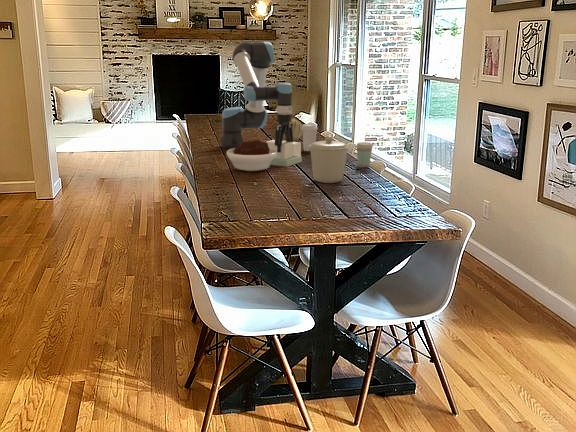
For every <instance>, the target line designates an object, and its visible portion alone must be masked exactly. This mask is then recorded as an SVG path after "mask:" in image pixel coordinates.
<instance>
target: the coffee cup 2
mask: <svg viewBox="0 0 576 432" xmlns="http://www.w3.org/2000/svg"><path fill="white" fill-rule="evenodd" d="M355 148H356V159H357V167H358V168H362V167H367V168H369V167H370V163H371V159H372V153H373V152H372V151H373V148H374V147H373V144H372V143H370V142H357V143H356V146H355Z"/></svg>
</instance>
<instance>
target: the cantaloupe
mask: <svg viewBox="0 0 576 432" xmlns="http://www.w3.org/2000/svg"><path fill="white" fill-rule="evenodd" d="M289 123H290V124H293V127H292V130H293V142H297V141H299V139H300V138H301V137H303V133H302V129H301V128H302V126H303V124H302V123H301V121H299V120H298V119H296V117H293V118H292V120H291V121H290V122H289ZM283 140H284V141H286V137H285V134H284V136H283Z"/></svg>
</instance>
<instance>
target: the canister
mask: <svg viewBox="0 0 576 432" xmlns="http://www.w3.org/2000/svg"><path fill="white" fill-rule="evenodd" d="M309 147H310V149H311V151H310V159H311V167H312V168H311V169H312V177H313V179H314V181H316V182H318V183H321V182H322V183H323V184H334V183H339V182H341V181H342V180H343V178H344V174H345V173H344V172H345V167H346V160H347V153H348V149H349V145H348V144H346V143H345V142H343V141H337V140H334V138H333V136H332V135H326V136H325V137H324V140H318V141H316V142H314V143H312V144H310V145H309Z"/></svg>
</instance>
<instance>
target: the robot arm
mask: <svg viewBox="0 0 576 432" xmlns="http://www.w3.org/2000/svg"><path fill="white" fill-rule="evenodd" d="M231 55H232V56H231V57H232V58H231V59H232V62H233V65H234V66H235V67H237V69H238V73H239V74H240V77H241V80H242V83H243V85H244V88H243V99H244V100H245V101H248V103H247V104H246V105H245V109H243V108H242V107H241V106H235V107H234V106H233V107H232V106H231V107H227V108H224V109H223V110H222V115H221V122H222V123H221V124H222V135H221V138H220V142H219V147H220V148H224V149H233V148H236V147H239V146H240V145H241V144H242V142H245V139H244V136H243V130H247V129H249V130H250V129H251V130H252V129H256V130H257V129H262V128H264V127H265V126H266V125H267V122H268V111H267V109H266V108H265V106H264V101H266V102H267V101H268V102H269V101H270V102H271V101H276V113H277V114H276V121H277V122H278V125H275V137H274V140H275V146H277V158H280V159H282V141H284V139H283V136H284V134H285V137H286V140H285V141H287V142H294V141H293V130H292V127H293V124H290V123H289V122H290V121H291V120H292V119H293V118H292V109H293V108H292V105H293V104H292V101H293V98H292V97H293V87H292V86H293V85H292V84H291V83H288V82H279V83H277V84H276V85H266V79H267V73H268V71H267V70H268V69H269V68H271V64H273V63H274V62H275V49H274V46H273V44H272V43H271V42H270V41H265V40H264V41H242V42H240V43H239V44H237V45H236V46H235V48H234V49H233V52H232V54H231Z"/></svg>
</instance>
